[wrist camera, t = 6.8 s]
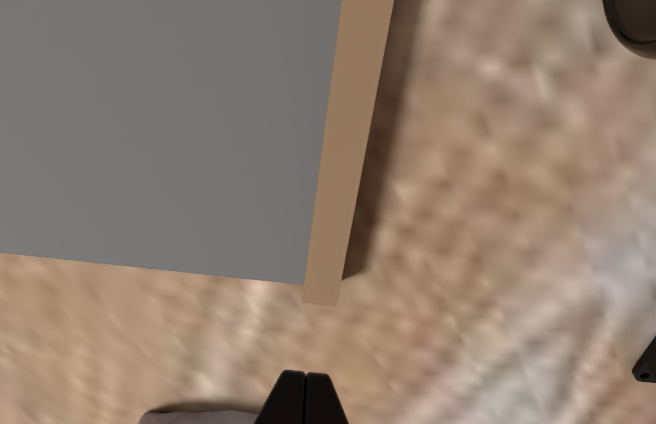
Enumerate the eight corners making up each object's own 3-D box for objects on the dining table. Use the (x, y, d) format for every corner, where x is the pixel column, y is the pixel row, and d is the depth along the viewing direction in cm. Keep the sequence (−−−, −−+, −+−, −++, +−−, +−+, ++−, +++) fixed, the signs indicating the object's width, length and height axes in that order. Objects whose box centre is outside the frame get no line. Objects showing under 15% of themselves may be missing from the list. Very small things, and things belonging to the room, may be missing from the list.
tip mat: (427, -217, 15) (436, -223, 13) (336, 282, 25) (336, 306, 24) (-170, -313, 14) (-224, -330, 12) (0, 246, 24) (-19, 269, 23)
